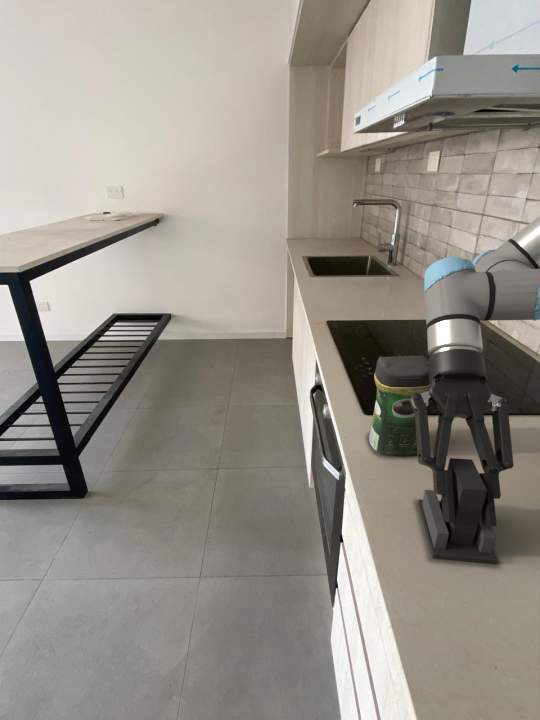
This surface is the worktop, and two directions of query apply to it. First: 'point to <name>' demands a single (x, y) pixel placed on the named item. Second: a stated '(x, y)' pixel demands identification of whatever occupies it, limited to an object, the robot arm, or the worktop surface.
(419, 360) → the coffee jar
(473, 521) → the dark gray block
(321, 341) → the worktop surface
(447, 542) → the base pad
